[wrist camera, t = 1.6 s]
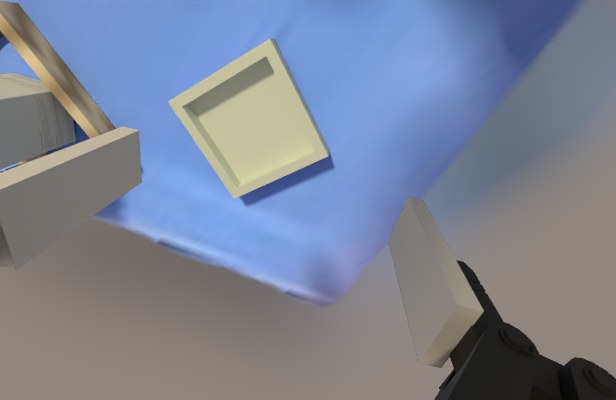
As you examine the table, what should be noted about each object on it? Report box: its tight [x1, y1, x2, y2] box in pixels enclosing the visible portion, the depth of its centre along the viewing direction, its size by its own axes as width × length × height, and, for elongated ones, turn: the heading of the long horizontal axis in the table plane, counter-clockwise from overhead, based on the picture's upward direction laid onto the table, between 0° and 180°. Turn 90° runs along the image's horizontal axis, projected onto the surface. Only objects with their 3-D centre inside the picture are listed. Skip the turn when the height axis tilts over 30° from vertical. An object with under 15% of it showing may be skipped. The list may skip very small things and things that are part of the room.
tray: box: [168, 39, 329, 199], centre depth 36 cm, size 14×14×2 cm
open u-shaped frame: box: [0, 1, 116, 164], centre depth 37 cm, size 19×14×3 cm
